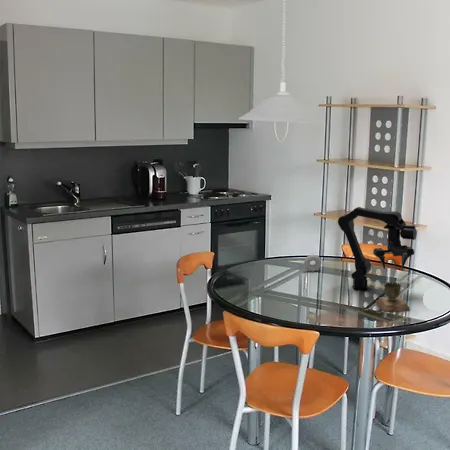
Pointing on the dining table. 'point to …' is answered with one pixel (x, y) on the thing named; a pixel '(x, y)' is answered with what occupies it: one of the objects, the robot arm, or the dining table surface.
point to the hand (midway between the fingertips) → (393, 268)
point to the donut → (309, 259)
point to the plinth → (392, 304)
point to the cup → (392, 290)
